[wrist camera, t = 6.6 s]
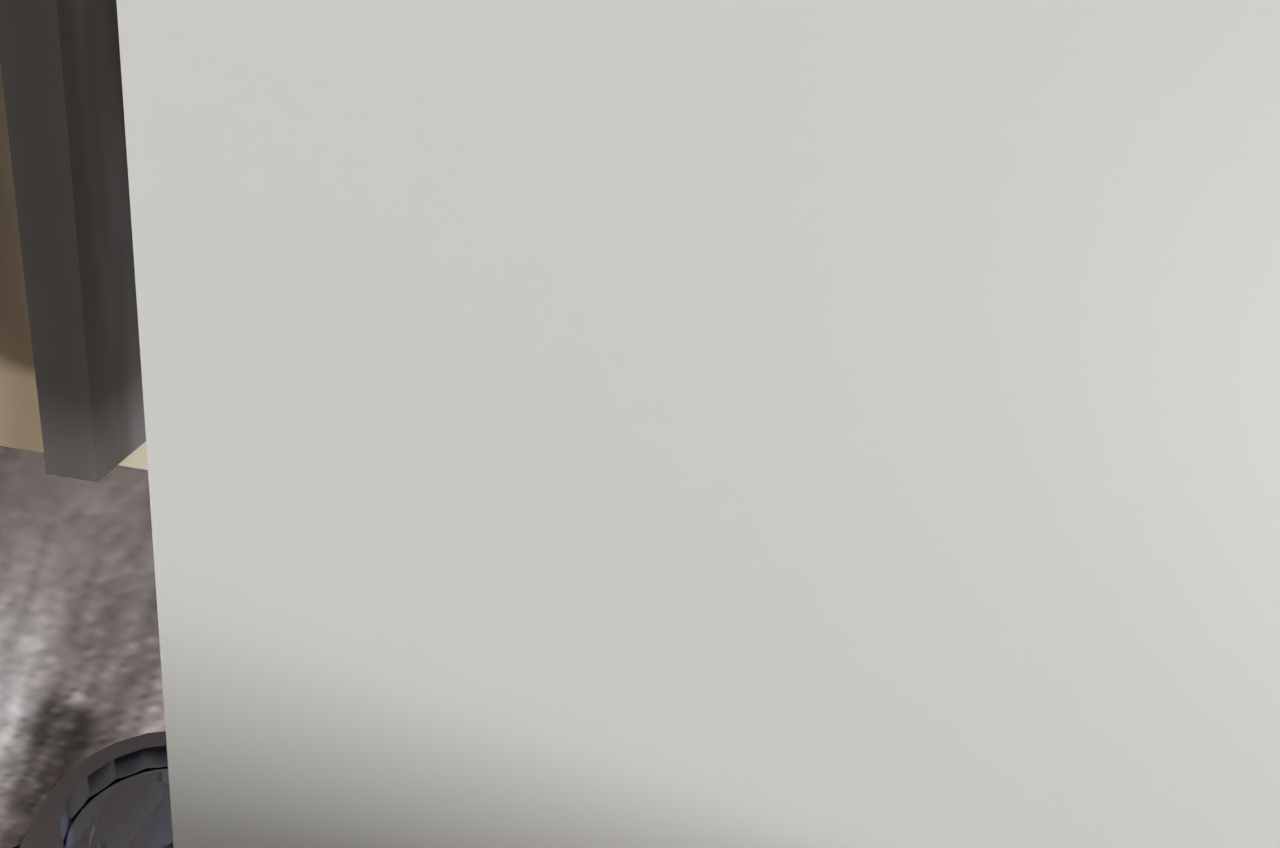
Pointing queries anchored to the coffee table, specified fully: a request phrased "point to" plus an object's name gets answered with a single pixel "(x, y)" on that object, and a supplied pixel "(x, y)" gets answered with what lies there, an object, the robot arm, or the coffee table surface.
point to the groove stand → (67, 242)
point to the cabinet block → (712, 420)
